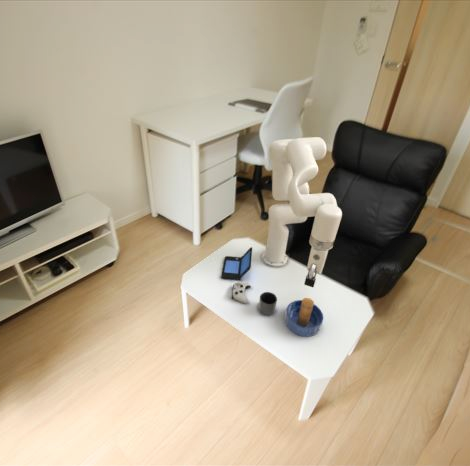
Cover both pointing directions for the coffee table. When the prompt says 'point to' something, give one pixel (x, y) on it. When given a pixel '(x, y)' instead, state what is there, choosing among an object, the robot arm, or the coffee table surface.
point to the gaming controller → (240, 292)
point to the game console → (236, 266)
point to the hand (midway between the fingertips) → (311, 276)
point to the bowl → (313, 323)
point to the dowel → (305, 312)
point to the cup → (267, 303)
